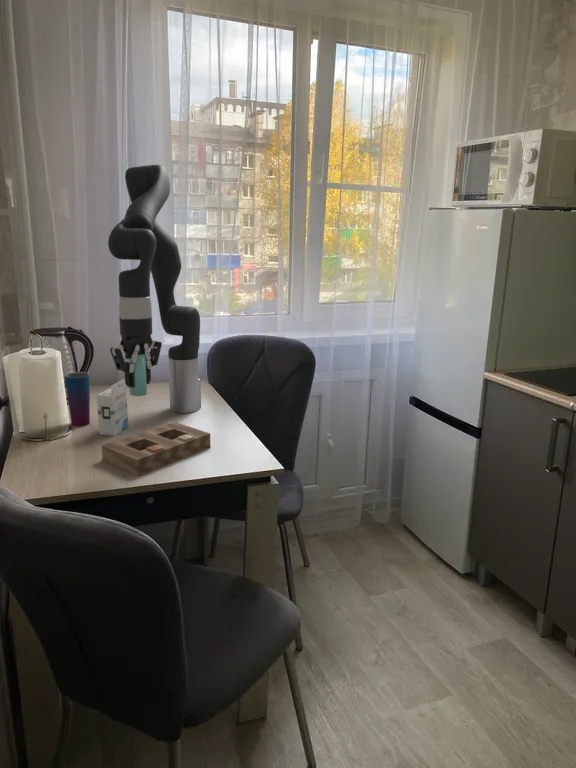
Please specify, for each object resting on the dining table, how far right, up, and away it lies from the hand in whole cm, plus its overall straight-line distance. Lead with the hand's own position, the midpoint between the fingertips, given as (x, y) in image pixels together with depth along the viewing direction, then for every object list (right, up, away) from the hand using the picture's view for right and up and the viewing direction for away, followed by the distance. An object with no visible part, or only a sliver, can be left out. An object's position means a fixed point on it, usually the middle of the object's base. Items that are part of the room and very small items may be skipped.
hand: (138, 384), depth 141 cm
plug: (0, -2, +1) cm, 2 cm away
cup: (-25, -12, +30) cm, 40 cm away
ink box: (-13, -13, +25) cm, 31 cm away
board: (+3, -18, +9) cm, 20 cm away
